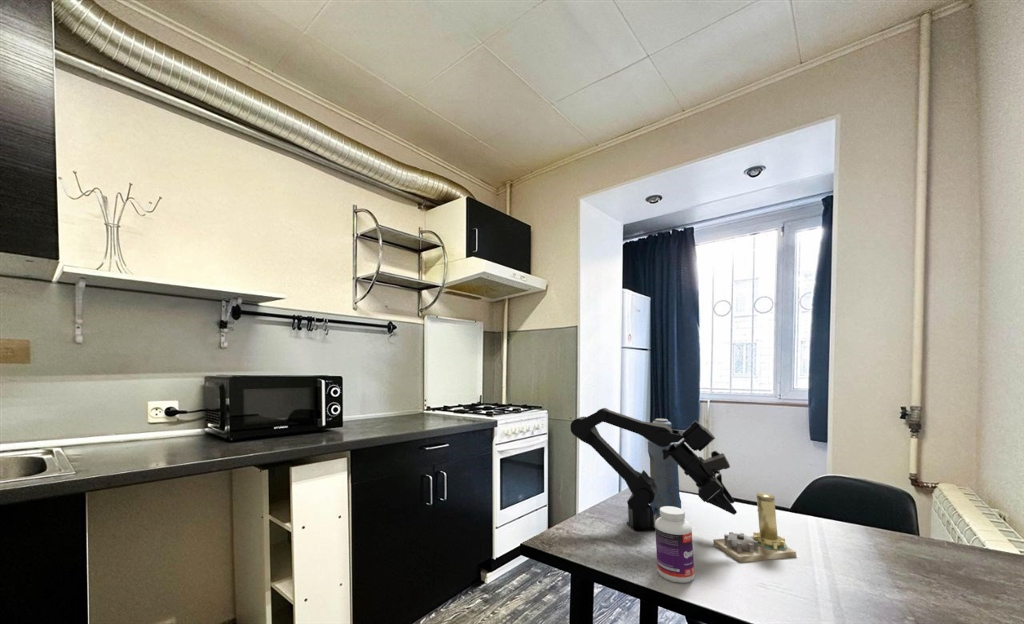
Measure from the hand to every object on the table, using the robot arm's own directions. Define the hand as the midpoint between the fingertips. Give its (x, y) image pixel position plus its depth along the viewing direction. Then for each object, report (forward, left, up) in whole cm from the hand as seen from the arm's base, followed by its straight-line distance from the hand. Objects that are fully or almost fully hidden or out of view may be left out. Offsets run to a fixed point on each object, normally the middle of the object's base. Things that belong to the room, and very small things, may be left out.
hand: (734, 507), depth 110 cm
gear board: (+1, -4, -9) cm, 10 cm away
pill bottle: (-26, -12, -9) cm, 30 cm away
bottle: (-7, +25, -9) cm, 27 cm away
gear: (+6, -4, -8) cm, 11 cm away
